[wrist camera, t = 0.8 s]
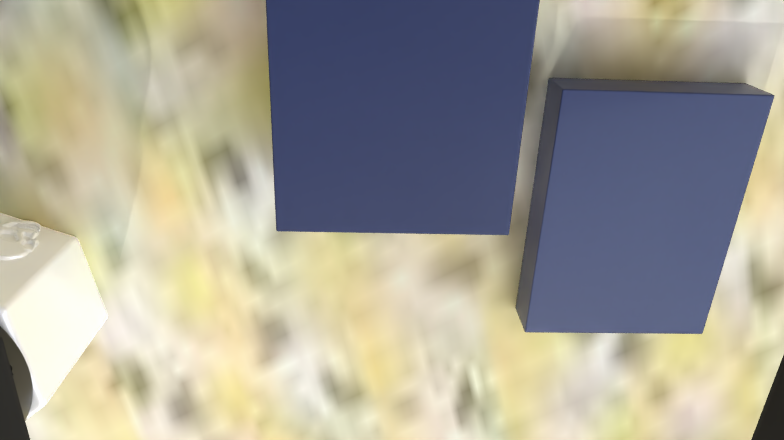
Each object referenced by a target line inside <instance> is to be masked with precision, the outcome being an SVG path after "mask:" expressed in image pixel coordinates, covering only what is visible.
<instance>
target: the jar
mask: <svg viewBox="0 0 784 440" xmlns="http://www.w3.org/2000/svg"><path fill="white" fill-rule="evenodd" d="M107 318H108V314H107V311H106V308H105V306H104V303H103V301H102V298H101V296H100V293H99V291H98V288H97V285H96V283H95V280H94V278H93V275H92V273H91V270H90V267H89V265H88V262H87V260H86V257H85V255H84V252H83V250H82V247H81V244H80V242H79V240H78V238H76V237H75V236H72V235H69V234H66V233H62V232H59V231H56V230H53V229H50V228H47V227H44V226H41V225H40V224H39V223H37V222H34V221H25V220H22V219H19V218H16V217H13V216H9V215H6V214H3V213H0V337H2V338H3V342H4V345H5V349H6V353H7V357H8V360H9V364H10V368H11V371H12V375H13V379H14V382H15V386H16V390H17V393H18V397H19V401H20V405H21V408H22V412H23V416H24V419H25V421H26V420H27V419H28V418H30V417H31V416H32V415H33V414H35V413H36V412H37V411H39V410H40V409H41V408H43V407H44V406H45V405H46V404H47V403H48V401H49V400H50V399H51V397H52V396H53V394H54V393H55V391H56V390H57V389H58V387H59V386H60V384H61V383H62V382H63V380H64V379H65V377H66V376H67V375H68V373H69V372H70V370H71V369H72V368H73V366H74V365H75V363H76V362H77V361H78V359H79V358H80V356H81V355H82V353H83V352H84V351H85V349H86V348H87V346H88V345H89V344H90V342H91V341H92V339H93V338H94V337H95V335H96V334H97V332H98V331H99V330H100V328H101V327H102V325H103V324H104V323H105V321H106V320H107Z"/></svg>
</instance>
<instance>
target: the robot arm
mask: <svg viewBox="0 0 784 440" xmlns="http://www.w3.org/2000/svg"><path fill="white" fill-rule="evenodd" d="M0 440H30V438H29V434H28V430H27V427H26V423H25V419H24V416H23V412H22V408H21V405H20V401H19V397H18V393H17V390H16V386H15V382H14V379H13V375H12V371H11V368H10V364H9V360H8V357H7V353H6V349H5V345H4V342H3V338H2V337H0ZM752 440H784V356H783V358H782V361H781V363H780V366H779V369H778V371H777V374H776V377H775V379H774V382H773V384H772V387H771V390H770V392H769V395H768V398H767V400H766V403H765V405H764V408H763V411H762V413H761V416H760V419H759V421H758V424H757V426H756V429H755V432H754V434H753V437H752Z"/></svg>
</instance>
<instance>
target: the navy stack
mask: <svg viewBox="0 0 784 440" xmlns="http://www.w3.org/2000/svg"><path fill="white" fill-rule="evenodd" d="M773 99H774V95H772V94H770V93H768V92H765V91H763V90H760V89H758V88H755V87H753V86H751V85H748V84H746V83H712V82H678V81H645V80H611V79H578V78H549V81H548V88H547V94H546V101H545V108H544V115H543V122H542V129H541V136H540V143H539V150H538V157H537V163H536V170H535V177H534V184H533V191H532V198H531V205H530V212H529V219H528V226H527V232H526V239H525V246H524V253H523V260H522V267H521V274H520V281H519V288H518V295H517V301H516V310H517V313H518V315H519V318H520V320H521V323H522V325H523V328H524V331H525V332H560V333H677V334H702V333H703V330H704V327H705V323H706V320H707V317H708V313H709V310H710V307H711V303H712V300H713V297H714V293H715V290H716V287H717V284H718V280H719V277H720V274H721V270H722V267H723V264H724V260H725V257H726V254H727V251H728V247H729V244H730V241H731V237H732V234H733V231H734V227H735V224H736V221H737V218H738V214H739V211H740V208H741V204H742V201H743V198H744V194H745V191H746V188H747V185H748V181H749V178H750V175H751V171H752V168H753V165H754V161H755V158H756V155H757V151H758V148H759V145H760V142H761V138H762V135H763V132H764V128H765V125H766V122H767V118H768V115H769V112H770V109H771V105H772V102H773Z"/></svg>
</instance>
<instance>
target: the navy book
mask: <svg viewBox="0 0 784 440" xmlns="http://www.w3.org/2000/svg"><path fill="white" fill-rule="evenodd" d="M539 1H540V0H266V15H267V37H268V59H269V80H270V102H271V123H272V145H273V167H274V188H275V210H276V230H277V231H296V232H356V233H416V234H476V235H508V234H509V229H510V221H511V214H512V206H513V199H514V191H515V183H516V176H517V168H518V161H519V153H520V145H521V138H522V130H523V123H524V115H525V107H526V100H527V92H528V85H529V77H530V69H531V62H532V54H533V47H534V39H535V31H536V24H537V16H538V9H539Z"/></svg>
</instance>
